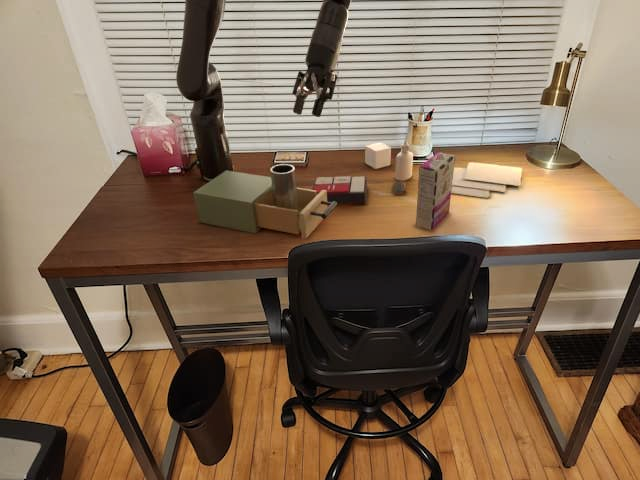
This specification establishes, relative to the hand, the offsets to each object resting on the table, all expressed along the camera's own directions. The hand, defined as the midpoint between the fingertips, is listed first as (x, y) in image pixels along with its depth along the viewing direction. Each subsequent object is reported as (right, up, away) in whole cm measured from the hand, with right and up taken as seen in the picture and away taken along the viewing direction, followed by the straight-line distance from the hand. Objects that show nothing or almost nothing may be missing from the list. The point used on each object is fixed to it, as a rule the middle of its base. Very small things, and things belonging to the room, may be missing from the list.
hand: (306, 114), depth 110 cm
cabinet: (-18, -24, +8) cm, 31 cm away
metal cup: (-5, -25, +3) cm, 26 cm away
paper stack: (+50, -11, +25) cm, 57 cm away
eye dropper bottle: (+27, -11, +26) cm, 39 cm away
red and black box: (+8, -18, +17) cm, 26 cm away
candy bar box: (+32, -26, +5) cm, 42 cm away
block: (+25, -16, +19) cm, 35 cm away
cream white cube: (+19, -4, +36) cm, 41 cm away
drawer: (-3, -27, +3) cm, 27 cm away
